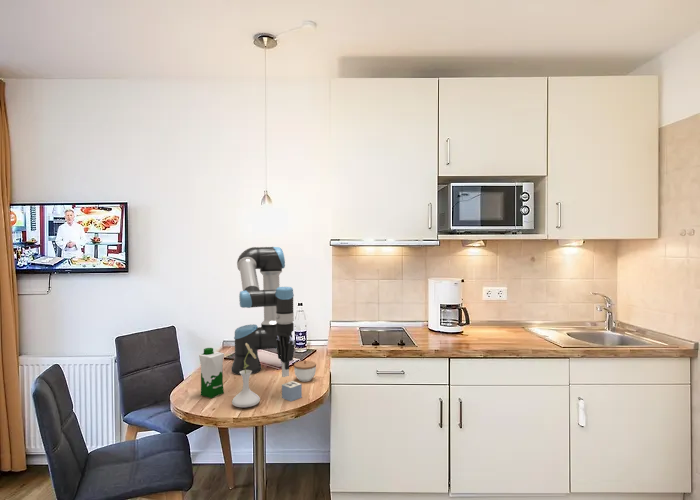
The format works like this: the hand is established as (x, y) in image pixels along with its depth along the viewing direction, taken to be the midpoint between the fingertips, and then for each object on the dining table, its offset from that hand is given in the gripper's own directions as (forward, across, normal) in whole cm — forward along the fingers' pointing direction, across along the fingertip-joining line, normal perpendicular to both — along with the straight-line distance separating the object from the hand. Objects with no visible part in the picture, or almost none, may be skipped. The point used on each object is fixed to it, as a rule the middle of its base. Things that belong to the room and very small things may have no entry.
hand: (285, 376), depth 180 cm
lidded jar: (+9, -10, +19) cm, 23 cm away
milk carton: (+9, -24, -22) cm, 34 cm away
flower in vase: (+9, -4, -17) cm, 19 cm away
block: (+3, +4, 0) cm, 5 cm away
